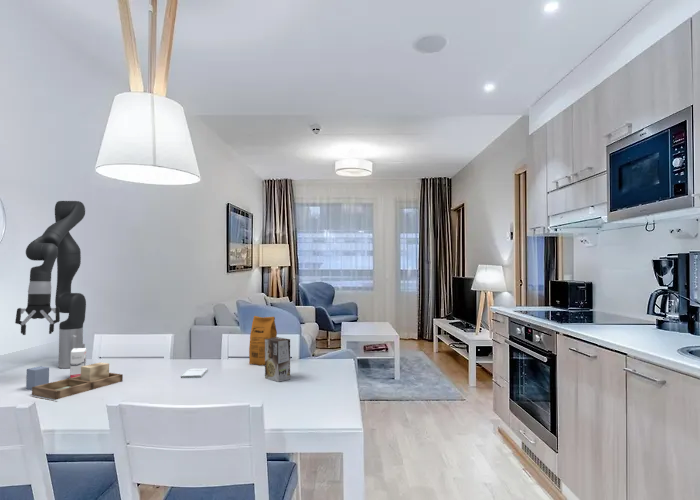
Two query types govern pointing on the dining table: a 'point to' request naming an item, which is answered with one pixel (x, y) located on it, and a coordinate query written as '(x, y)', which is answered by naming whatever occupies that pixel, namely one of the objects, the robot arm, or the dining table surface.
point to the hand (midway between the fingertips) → (37, 334)
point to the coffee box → (277, 359)
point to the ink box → (77, 361)
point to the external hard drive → (194, 373)
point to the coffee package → (260, 338)
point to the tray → (73, 386)
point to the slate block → (37, 376)
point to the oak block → (95, 371)
